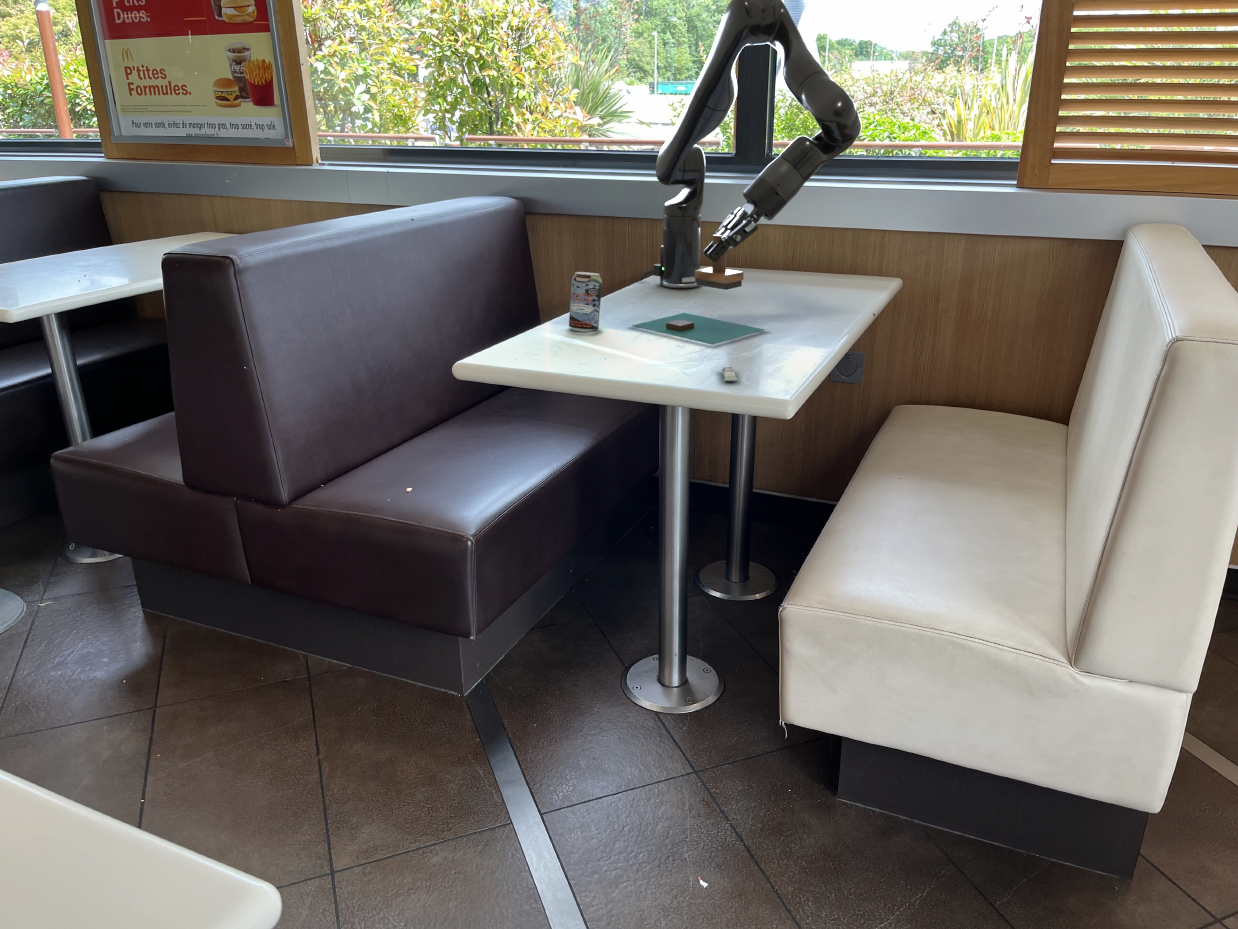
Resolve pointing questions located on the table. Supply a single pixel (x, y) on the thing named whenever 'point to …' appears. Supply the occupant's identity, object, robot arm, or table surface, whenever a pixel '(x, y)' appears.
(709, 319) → the mat
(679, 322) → the brown square block
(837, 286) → the table surface
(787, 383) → the table surface
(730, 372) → the granola bar
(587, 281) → the beverage can
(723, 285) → the brush
